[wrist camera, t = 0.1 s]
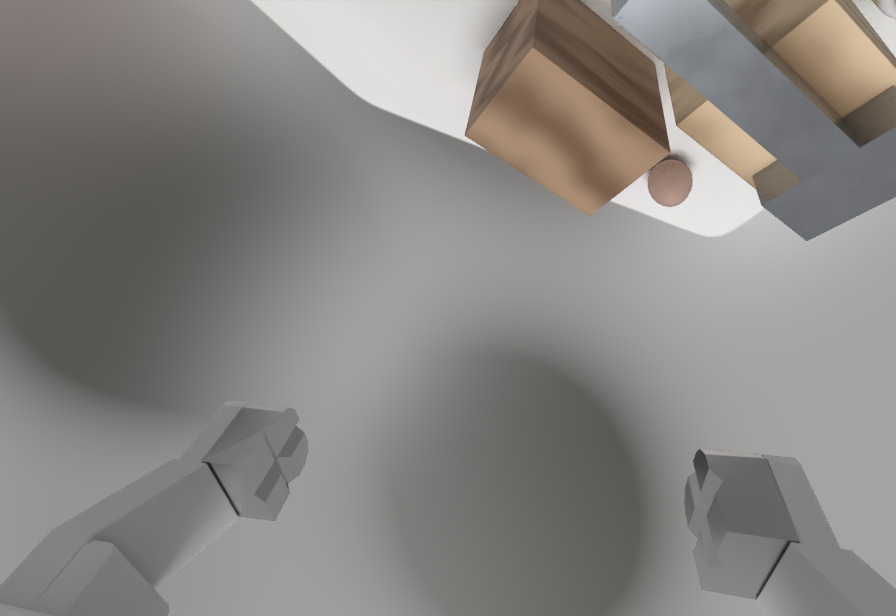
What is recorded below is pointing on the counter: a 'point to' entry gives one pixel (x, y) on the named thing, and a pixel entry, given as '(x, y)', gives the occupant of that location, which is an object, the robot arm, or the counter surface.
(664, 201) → the egg
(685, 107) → the oak shelf block
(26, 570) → the robot arm
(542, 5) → the walnut block
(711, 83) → the hook bar
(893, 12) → the supplement bottle
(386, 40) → the counter surface
